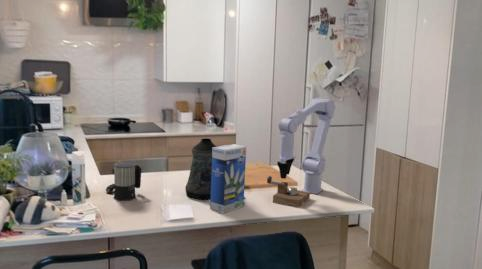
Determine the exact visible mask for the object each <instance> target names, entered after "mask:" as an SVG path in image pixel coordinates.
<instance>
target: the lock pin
mask: <svg viewBox="0 0 482 269" xmlns="http://www.w3.org/2000/svg"><path fill="white" fill-rule="evenodd" d="M272 178H273V176H271V175H269V176H268V175H267V177H266V182H267V184H270V185H274V186H278V183H281V184H284V183H282V182H281V181H275V180H272Z"/></svg>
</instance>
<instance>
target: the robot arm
mask: <svg viewBox="0 0 482 269" xmlns="http://www.w3.org/2000/svg"><path fill="white" fill-rule="evenodd" d="M335 110H336V105H335V101H334V100H333V99H330V98H329V99H328V98H326V99H325V98H319V97H314V98H313V99H310V103H309V104H307V105H306V106H305V107H304V108H303V109H302V110H301V109H297V110H295V112H293V113H292V114H291V115H290V114H289V115H288V117H287V118H286V117H284V118H282V119H280V121H279V122H278V129H279V134H280V143H279V145H280V146H279V147H280V148H279V156H278V158H279V159H280V161H277V166H278V169H279V170H278V171H279V175H280V178H281V179H287V176H288V175H290V173H291V168H292V165H293V162H295V159H296V155H294V141H295V133H296V132H297V131H298V128H299V127H300V126H301V125H302V124H304V123H305V122H306V120H307V118H308V117H309V116H311V115H312V114H315V115H316V116H317V117H318V119H319V120H318V123H317V127H316V131H315V134H314V139H313V141H312V145H311V150H310V151H309V152H306V154H305V155H304V158H303V160H302V162H301V168H302V170H303V172H304V183H303V189H301V190H300V191H305V192H310V194H312V195H318V194H319V193H321V192H322V191H323V189H324V188H322V179H323V176H322V174H323V173H324V172H325V170H326V160H327V159H326V157H325V156H324V155H323V152H324V148H325V144H326V140H327V137H328V133H329V129H330V125H331V122H332V119H333V117H334V113H335Z"/></svg>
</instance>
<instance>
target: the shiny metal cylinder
mask: <svg viewBox="0 0 482 269" xmlns="http://www.w3.org/2000/svg"><path fill="white" fill-rule="evenodd" d="M288 189H289V195H291V196H296V195H297V190H298V188H296V187H292V186H290V187H289V188H288Z"/></svg>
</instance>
